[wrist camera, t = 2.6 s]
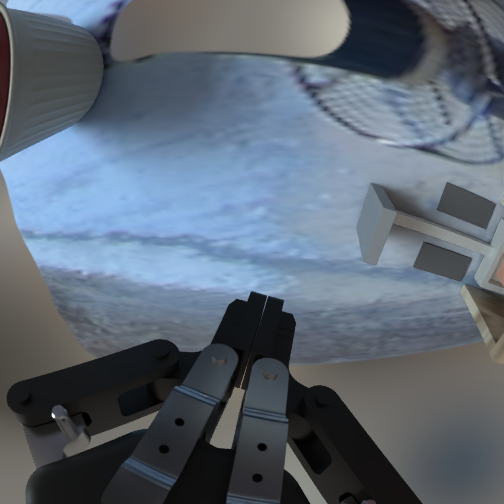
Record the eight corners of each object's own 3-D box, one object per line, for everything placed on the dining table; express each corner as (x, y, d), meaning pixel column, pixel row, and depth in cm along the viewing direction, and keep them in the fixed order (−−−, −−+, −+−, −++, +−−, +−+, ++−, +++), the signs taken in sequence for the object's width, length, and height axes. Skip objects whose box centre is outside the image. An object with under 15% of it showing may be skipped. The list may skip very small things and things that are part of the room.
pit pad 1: (446, 182, 28) (447, 182, 27) (494, 202, 27) (495, 203, 27) (436, 209, 29) (437, 210, 29) (484, 228, 28) (485, 229, 28)
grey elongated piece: (352, 239, 33) (357, 276, 26) (374, 168, 29) (389, 189, 22) (522, 293, 30) (545, 328, 23) (548, 242, 26) (578, 271, 19)
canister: (129, -6, 24) (-20, -39, 6) (131, 135, 33) (-23, 195, 15) (32, 35, 28) (-90, 48, 10) (36, 148, 36) (-81, 200, 18)
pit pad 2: (423, 241, 31) (424, 243, 31) (470, 257, 30) (471, 259, 30) (413, 266, 33) (413, 267, 32) (459, 280, 32) (460, 281, 32)
